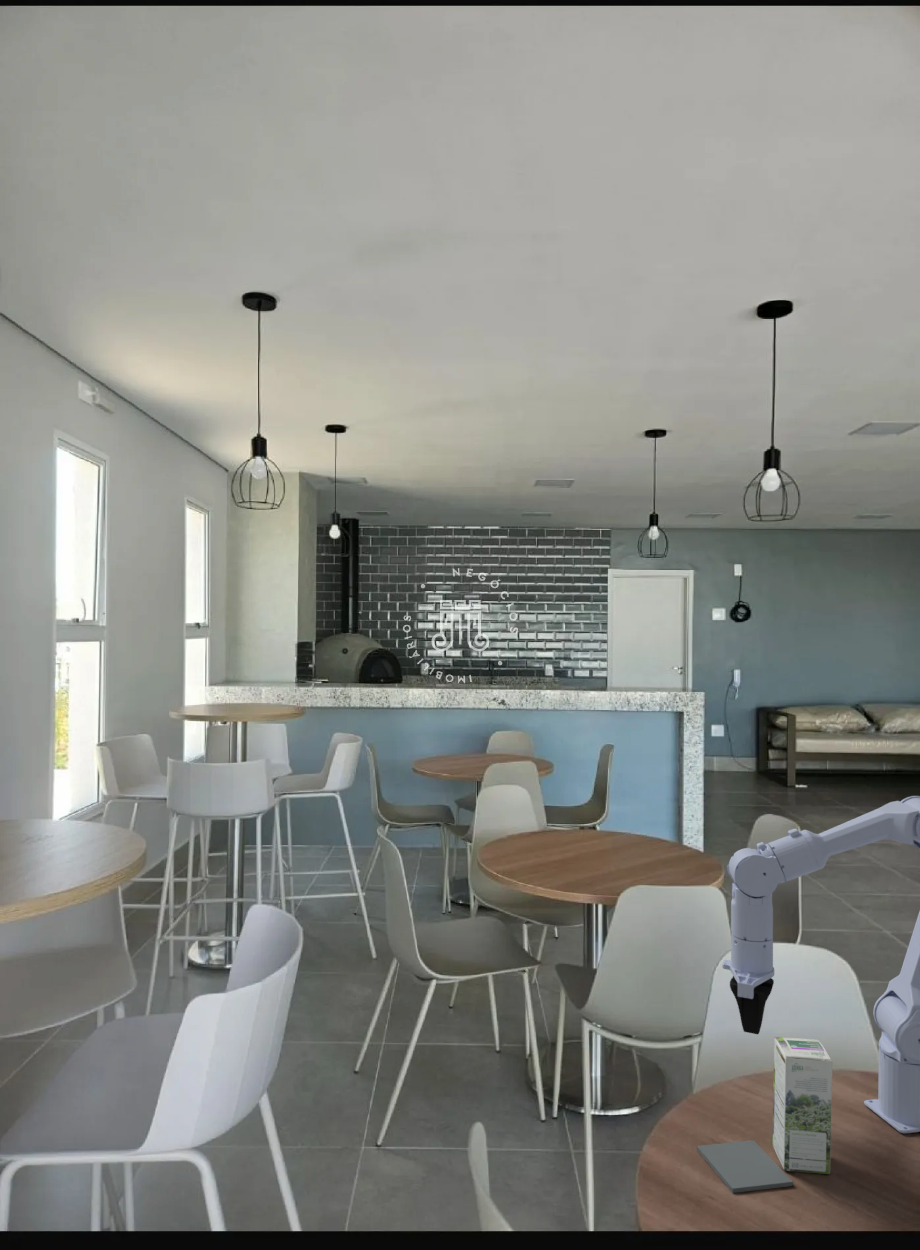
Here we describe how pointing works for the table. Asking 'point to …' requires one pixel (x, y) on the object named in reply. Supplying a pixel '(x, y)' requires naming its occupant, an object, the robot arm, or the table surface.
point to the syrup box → (802, 1105)
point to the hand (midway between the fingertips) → (751, 1031)
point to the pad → (744, 1166)
